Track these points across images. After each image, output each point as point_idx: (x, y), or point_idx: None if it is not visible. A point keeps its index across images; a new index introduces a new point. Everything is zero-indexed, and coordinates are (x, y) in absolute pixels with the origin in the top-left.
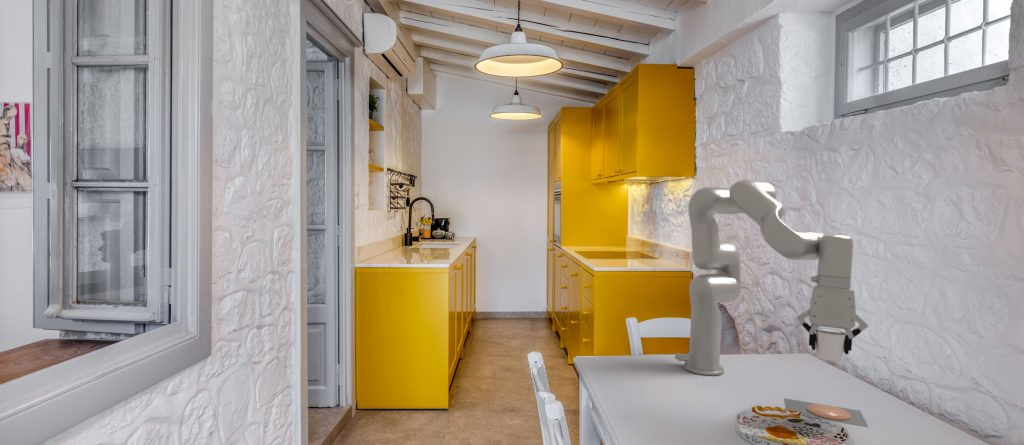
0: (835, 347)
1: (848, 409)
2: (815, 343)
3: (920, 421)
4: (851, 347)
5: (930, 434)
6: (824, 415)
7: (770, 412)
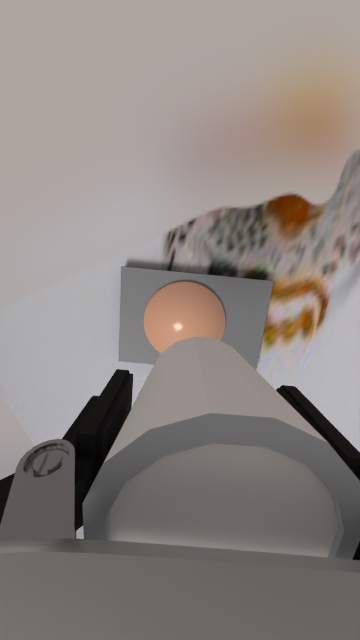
0: (190, 360)
1: (140, 358)
2: (298, 409)
3: (21, 373)
4: (86, 405)
5: (15, 311)
6: (198, 291)
7: (291, 306)
